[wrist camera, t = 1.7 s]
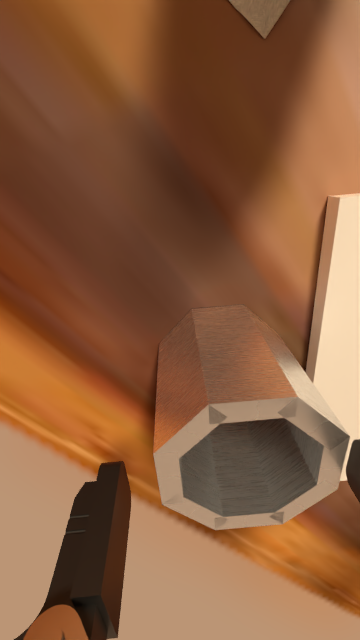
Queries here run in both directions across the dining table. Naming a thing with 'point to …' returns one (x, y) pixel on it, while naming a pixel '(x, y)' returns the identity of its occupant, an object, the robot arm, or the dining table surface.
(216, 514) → the collar
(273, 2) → the condiment
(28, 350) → the dining table surface
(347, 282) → the duct flange
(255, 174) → the dining table surface
